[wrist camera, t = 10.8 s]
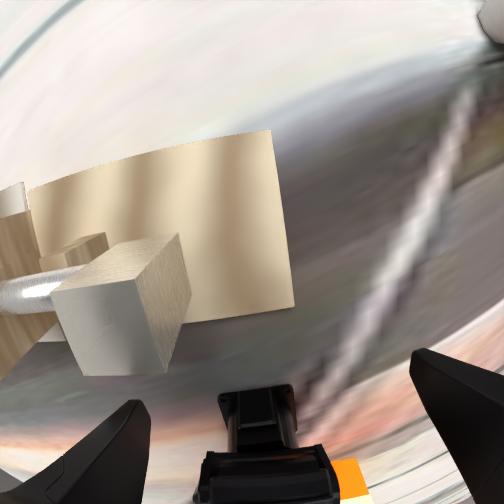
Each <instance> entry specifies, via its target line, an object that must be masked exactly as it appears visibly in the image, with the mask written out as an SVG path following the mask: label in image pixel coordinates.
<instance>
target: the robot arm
mask: <svg viewBox="0 0 504 504" xmlns="http://www.w3.org/2000/svg"><path fill="white" fill-rule="evenodd" d="M409 373H410V377H411V379H412V381H413V383H414V385H415V388H416V390H417V392H418V394H419V397H420V399H421V401H422V404H423V406H424V408H425V410H426V412H427V414H428V415H429V417H430V419H431V420H432V422H433V424H434V426H435V427H436V429H437V431H438V433H439V434H440V436H441V438H442V440H443V442H444V443H445V445H446V447H447V449H448V451H449V453H450V454H451V456H452V458H453V460H454V462H455V464H456V466H457V467H458V469H459V471H460V473H461V475H462V477H463V479H464V481H465V483H466V485H467V487H468V489H469V491H470V493H471V495H472V497H473V500H474V501H475V503H476V504H504V376H503V375H501V374H498V373H495V372H492V371H489V370H486V369H483V368H480V367H477V366H474V365H471V364H468V363H466V362H463V361H460V360H457V359H454V358H451V357H448V356H446V355H443V354H440V353H437V352H434V351H432V350H429V349H426V348H420V349H417V350H414V351H413V352H412V355H411V362H410V368H409ZM287 389H289V390H288V391H285V390H287ZM223 398H224V399H223ZM218 403H219V406H220V409H221V412H222V415H223V418H224V421H225V424H226V427H227V430H228V452H214V451H207V454H206V459H204V460H203V463H202V464H201V474H200V480H199V483H198V485H197V487H196V490H195V492H194V494H193V503H195V504H340V499H341V496H340V486H339V481H338V477H337V474H336V472H335V470H334V468H333V466H332V464H331V462H330V460H329V458H328V456H327V454H326V452H325V450H324V448H323V446H322V444H316V445H314V446H310V447H302V448H299V446H298V441H297V436H296V431H297V420H296V410H295V401H294V392H293V387H292V386H291V385H289V384H286V385H280V386H274V387H268V388H261V389H255V390H247V391H240V392H231V393H222V394H220V395H219V396H218ZM150 431H151V418H150V415H149V413H148V411H147V410H146V408H145V406H144V404H143V402H142V401H141V400H139V399H136V400H128V401H127V402H126V403H125V404H124V405H122V406H121V407H120V408H119V409H118V410H117V411H115V412H114V413H113V414H112V415H111V416H109V417H108V418H107V419H106V420H105V421H103V422H102V423H101V424H100V425H99V426H98V427H96V428H95V429H94V430H93V431H91V432H90V433H89V434H88V435H87V436H85V437H84V438H83V439H82V440H81V441H79V442H78V443H77V444H76V445H74V446H73V447H72V448H71V449H70V450H68V451H67V452H66V453H65V454H63V456H61V457H60V458H58V459H57V460H56V461H55V462H53V463H52V464H51V465H49V466H48V467H47V468H45V469H44V470H42V471H41V472H39V473H38V474H36V475H35V476H33V477H32V478H30V479H28V480H27V481H25V482H24V483H22V484H20V485H19V486H17V487H16V488H14V489H12V490H10V491H7V492H2V493H0V504H141V503H142V496H143V490H144V484H145V478H146V472H147V466H148V460H149V447H150Z"/></svg>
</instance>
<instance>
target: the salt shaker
mask: <svg viewBox="0 0 504 504" xmlns="http://www.w3.org/2000/svg"><path fill="white" fill-rule="evenodd" d="M478 17H479V20H480V22H481V25H482V27H483V30H484V31H485V32H486V33H487V34H488V35H489V36H490V38H491V39H492V40H493V41H494V42H496V43H502V44H504V0H484V3H483V6H482V9H481V11H480V13H479V14H478Z"/></svg>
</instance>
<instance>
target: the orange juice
mask: <svg viewBox="0 0 504 504" xmlns="http://www.w3.org/2000/svg"><path fill="white" fill-rule="evenodd" d="M331 464H332V466H333V468H334V470H335V472H336V474H337V477H338V481H339V486H340V496H341V499H340V504H373V501H372V499H371V496H370V494H369V492H368V489H367V487H366V484H365V481H364V479H363V476H362V473H361V470H360V468H359V465H358V462H357V460H356V458H353V459H347V460H340V461H333V462H331Z"/></svg>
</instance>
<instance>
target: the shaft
mask: <svg viewBox="0 0 504 504" xmlns="http://www.w3.org/2000/svg"><path fill="white" fill-rule="evenodd" d="M191 297H192V291H191V287H190V283H189V278H188V274H187V270H186V265H185V261H184V256H183V252H182V247H181V243H180V238H179V233H178V232H176V233H170V234H165V235H160V236H154V237H149V238H144V239H138V240H133V241H128V242H123V243H118V244H117V245H115V246H114V247H112V248H111V249H109V250H108V251H106V252H105V253H103V254H102V255H100V256H99V257H97V258H96V259H94V260H93V261H91V262H90V263H89V264H85V265H79V266H74V267H69V268H63V269H58V270H53V271H48V272H43V273H38V274H33V275H27V276H22V277H17V278H12V279H7V280H3V281H0V316H6V315H17V314H28V313H39V312H49V311H56V313H57V316H58V318H59V321H60V324H61V326H62V328H63V331H64V333H65V336H66V338H67V340H68V343H69V345H70V347H71V350H72V352H73V354H74V356H75V358H76V360H77V363H78V365H79V367H80V369H81V371H82V373H83V375H84V376H118V375H146V374H164V373H166V372H167V369H168V365H169V362H170V359H171V356H172V353H173V350H174V347H175V344H176V341H177V338H178V335H179V332H180V329H181V326H182V323H183V320H184V317H185V314H186V311H187V308H188V305H189V302H190V300H191Z"/></svg>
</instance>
